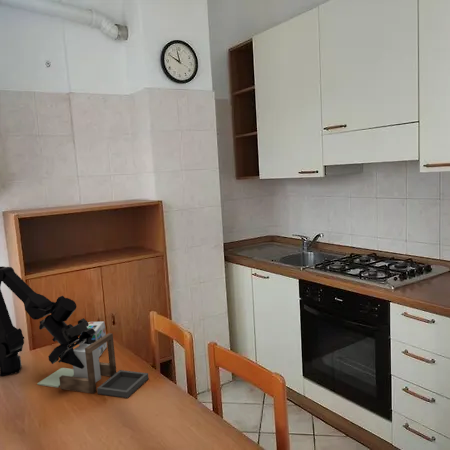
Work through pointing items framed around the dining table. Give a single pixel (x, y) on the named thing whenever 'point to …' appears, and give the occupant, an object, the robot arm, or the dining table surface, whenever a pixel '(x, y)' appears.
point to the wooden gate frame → (92, 368)
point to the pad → (56, 377)
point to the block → (81, 356)
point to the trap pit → (123, 384)
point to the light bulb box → (98, 334)
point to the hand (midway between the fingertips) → (89, 363)
